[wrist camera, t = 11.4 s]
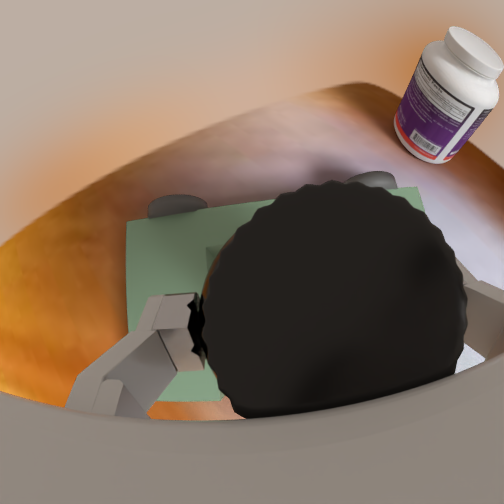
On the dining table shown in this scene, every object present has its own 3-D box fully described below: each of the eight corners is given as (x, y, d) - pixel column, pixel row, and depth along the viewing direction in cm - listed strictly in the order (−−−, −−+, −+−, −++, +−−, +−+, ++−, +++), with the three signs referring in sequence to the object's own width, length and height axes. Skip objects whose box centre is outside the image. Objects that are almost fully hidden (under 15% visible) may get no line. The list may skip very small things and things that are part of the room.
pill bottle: (437, 114, 28) (485, 32, 14) (460, 169, 26) (530, 91, 12) (382, 107, 28) (419, 8, 14) (402, 166, 26) (466, 66, 12)
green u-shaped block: (397, 194, 25) (417, 169, 20) (427, 354, 21) (457, 357, 17) (145, 225, 26) (121, 204, 22) (156, 390, 22) (130, 402, 18)
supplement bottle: (223, 270, 17) (120, 173, 5) (338, 241, 17) (437, 110, 5) (250, 387, 15) (200, 521, 4) (367, 355, 15) (517, 409, 3)
